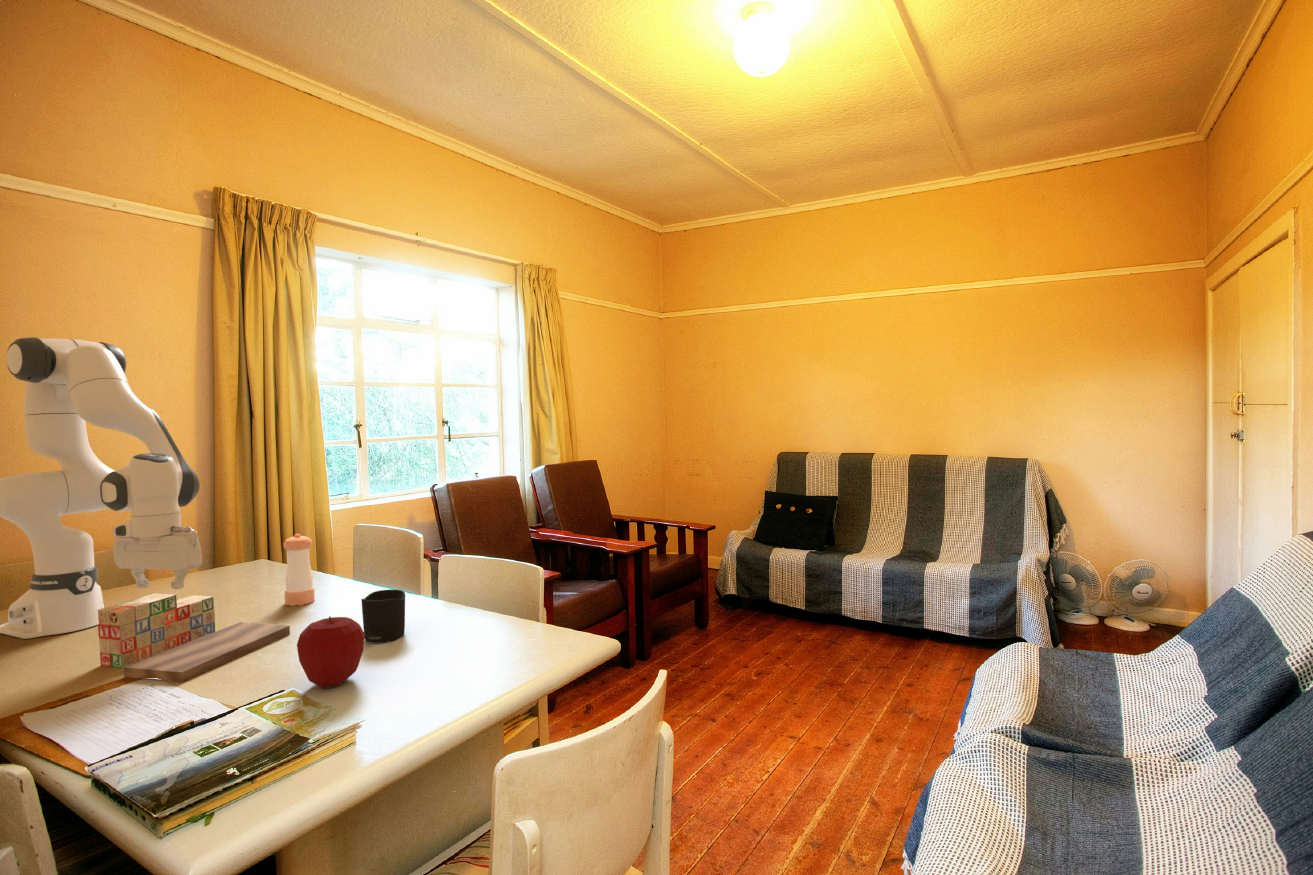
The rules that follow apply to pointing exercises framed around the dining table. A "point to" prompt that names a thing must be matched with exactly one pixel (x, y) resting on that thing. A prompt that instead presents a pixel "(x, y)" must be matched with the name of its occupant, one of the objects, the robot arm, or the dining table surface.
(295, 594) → the pepper shaker
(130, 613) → the stack of blocks
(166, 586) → the dining table surface
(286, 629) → the walnut board
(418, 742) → the dining table surface
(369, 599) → the pen holder
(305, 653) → the apple
